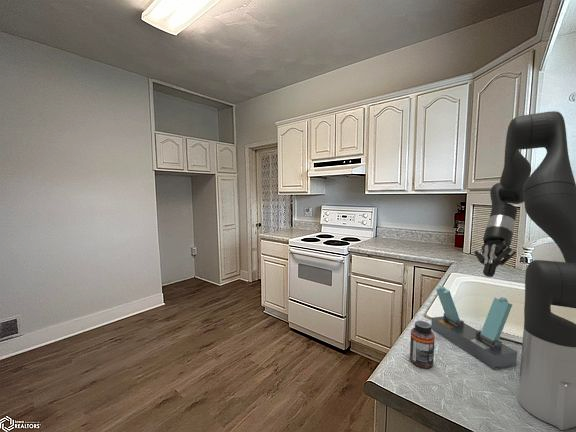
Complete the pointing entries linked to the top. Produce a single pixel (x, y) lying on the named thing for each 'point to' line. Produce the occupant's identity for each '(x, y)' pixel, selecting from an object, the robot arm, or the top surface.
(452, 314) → the outer lever
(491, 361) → the switch box
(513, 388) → the top surface
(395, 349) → the top surface
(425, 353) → the supplement bottle
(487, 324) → the inner lever
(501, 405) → the top surface
